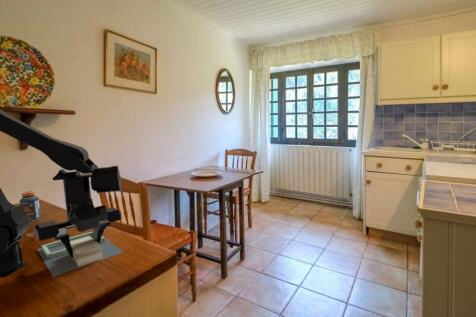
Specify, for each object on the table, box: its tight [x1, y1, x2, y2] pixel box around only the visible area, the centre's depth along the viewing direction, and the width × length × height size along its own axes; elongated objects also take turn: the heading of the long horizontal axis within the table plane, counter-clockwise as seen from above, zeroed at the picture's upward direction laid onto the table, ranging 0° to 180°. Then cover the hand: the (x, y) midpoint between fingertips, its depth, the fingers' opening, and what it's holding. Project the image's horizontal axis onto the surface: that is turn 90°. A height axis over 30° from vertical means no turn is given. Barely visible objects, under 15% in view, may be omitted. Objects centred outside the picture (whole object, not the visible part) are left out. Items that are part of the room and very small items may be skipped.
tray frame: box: [41, 231, 106, 259], centre depth 78 cm, size 9×14×1 cm, turn 134°
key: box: [24, 231, 36, 238], centre depth 94 cm, size 6×1×15 cm
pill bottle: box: [19, 190, 42, 223], centre depth 106 cm, size 6×6×11 cm
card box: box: [68, 236, 104, 268], centre depth 70 cm, size 10×6×4 cm, turn 44°
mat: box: [36, 236, 124, 278], centre depth 74 cm, size 22×16×1 cm
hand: (84, 253), depth 70 cm, fingers closed on card box, 5 cm apart
